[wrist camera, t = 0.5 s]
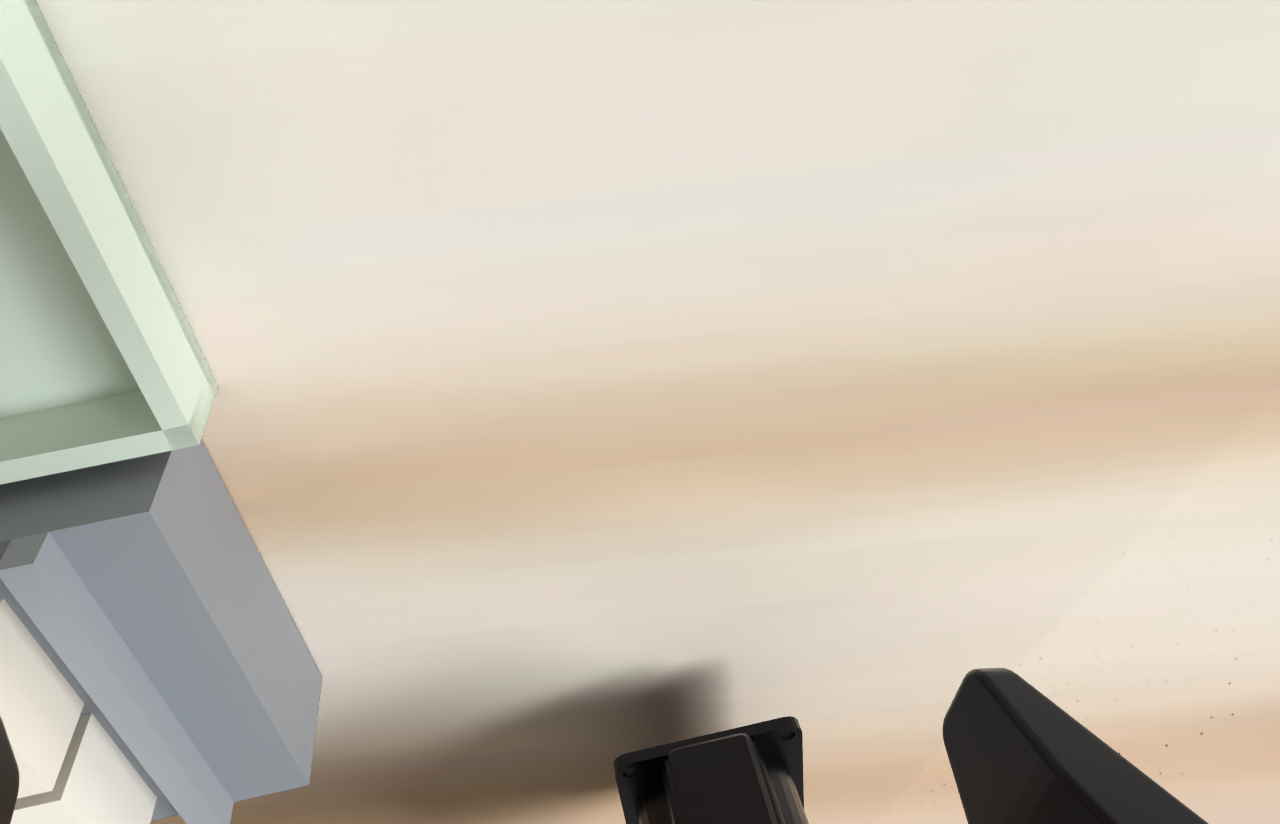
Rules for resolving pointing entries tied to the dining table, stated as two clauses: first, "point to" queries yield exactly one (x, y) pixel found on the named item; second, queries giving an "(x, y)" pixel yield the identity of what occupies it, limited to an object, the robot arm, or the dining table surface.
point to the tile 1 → (34, 706)
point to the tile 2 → (90, 785)
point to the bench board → (165, 626)
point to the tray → (79, 285)
